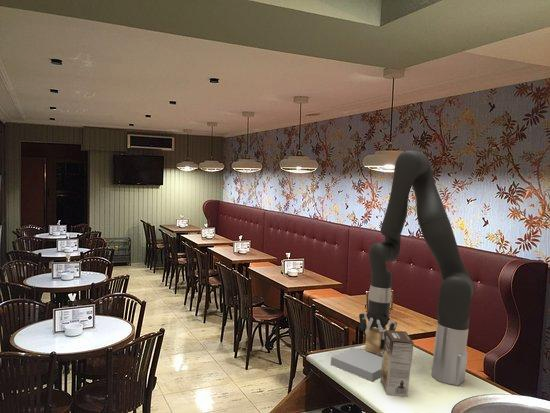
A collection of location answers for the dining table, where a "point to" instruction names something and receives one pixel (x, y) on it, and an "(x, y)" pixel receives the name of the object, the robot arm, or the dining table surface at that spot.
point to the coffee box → (396, 362)
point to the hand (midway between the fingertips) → (375, 346)
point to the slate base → (359, 363)
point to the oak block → (373, 341)
